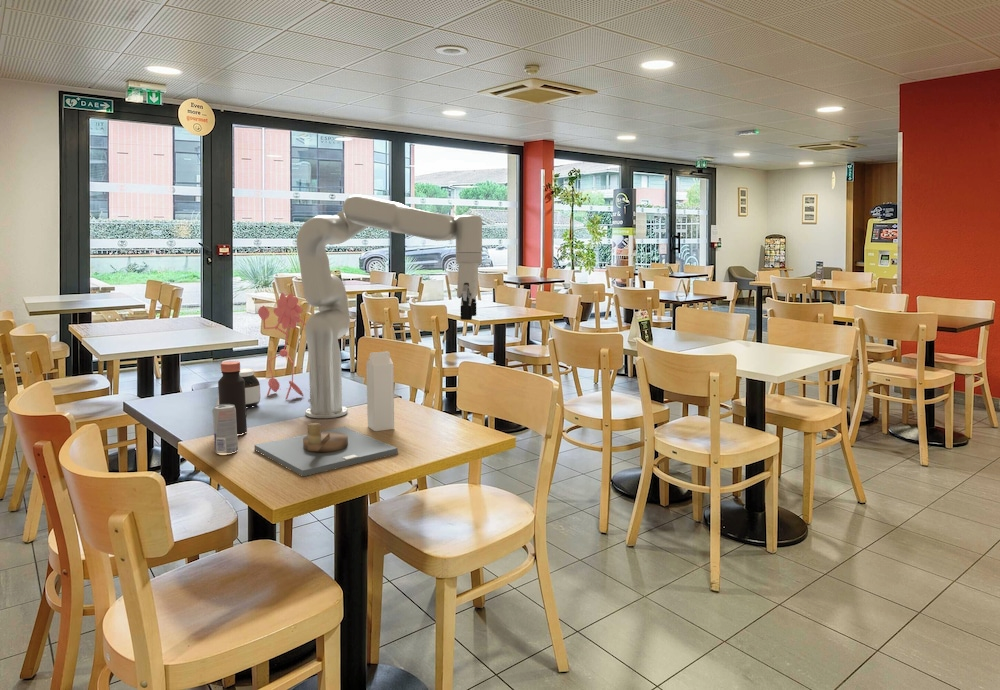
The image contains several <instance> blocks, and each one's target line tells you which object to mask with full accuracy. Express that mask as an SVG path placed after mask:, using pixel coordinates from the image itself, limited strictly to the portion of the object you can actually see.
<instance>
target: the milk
mask: <svg viewBox="0 0 1000 690" xmlns="http://www.w3.org/2000/svg"><path fill="white" fill-rule="evenodd" d="M365 363H366V400H367V401H366V405H367V407H366V410H367V411H366V412H367V414H366V415H367V427H368V428H369V429H371V430H372V431H373V432H381V431H388V430H395V390H394V389H395V387H394V386H395V385H394V383H395V382H394V379H395V378H394V362H393V360H392V358H391V352H390V351H378V352H377V351H376V352H375V351H374V352H370V353H369V358H368V360H367V361H366V362H365Z"/></svg>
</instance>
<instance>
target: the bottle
mask: <svg viewBox="0 0 1000 690" xmlns="http://www.w3.org/2000/svg"><path fill="white" fill-rule="evenodd" d="M240 369H241V362H240V361H236V360H235V361H234V360H232V361H231V360H229V361H223V362H221V363H220V371H221V374H222V376H221V377H220V378H219V380H218V382H217V387H218V389H217V390H218V395H219V405H221V404H233V405H235V408H236V423H237V434H242V433H245V432H248V427H247V426H248V425H247V409H246V401H245V381H244V379H243V378H242V377H241V376H240V375H239V372H240Z"/></svg>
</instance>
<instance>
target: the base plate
mask: <svg viewBox="0 0 1000 690" xmlns="http://www.w3.org/2000/svg"><path fill="white" fill-rule="evenodd" d="M321 432H338V433H343V434H346V435H347V436H348V446H347V447H345V448H344V449H341V450H338V451H332V452H311V451H307V450H305V449H304V448H303V438H304V437H306V436H308V433H307V434H301V435H297V436H291V437H287V438H283V439H277V440H271V441H267V442H263V443H257V444H254V451H255V450H257V451H259V452H260V453H262V454H264V455H266V456H267V457H269V458H271V459H273V460H274V461H273V460H272V461H273V462H275V461H276V462H275V463H277V462H278V463H280V464H282V465H283V466H282V465H281V466H282V467H284V466H285V467H284V468H286V467H287V468H286V469H288V468H289V469H291V470H292V471H291V470H290V471H291V472H293V471H294V473H295V472H296V473H295V474H297V473H298V474H297V475H299V474H300V475H302V476H305V477H308V476H307V475H309V476H311V475H310V474H313V475H316V474H315V473H317V474H319V473H318V472H321V473H324V472H323V471H325V472H327V471H326V470H329V471H332V470H331V469H333V470H336V469H335V468H337V469H341V468H345V467H349V465H350V466H353V464H354V465H358V464H361V462H362V463H365V461H366V462H369V460H370V461H373V459H374V460H377V459H376V458H378V459H381V458H380V457H382V458H385V457H384V456H386V457H389V455H390V456H394V455H398V454H399V453H398V451H399V449H398V447H396V446H394V445H391V444H389V443H386V442H384V441H381V440H379V439H377V438H374V437H371V436H369V435H366V434H364V433H361V432H359V431H356V430H354V429H351V428H349V427H346V426H342V427H340V426H339V427H336V428H331V429H326V430H321ZM257 451H256V452H257ZM260 453H259V454H260ZM262 454H261V455H262ZM264 455H263V456H264ZM266 456H265V457H266ZM267 457H266V458H267ZM269 458H268V459H269ZM271 459H270V460H271ZM278 463H277V464H278ZM357 463H358V464H357ZM280 464H279V465H280ZM340 467H341V468H340ZM289 469H288V470H289ZM300 475H299V476H300ZM302 476H301V477H302Z"/></svg>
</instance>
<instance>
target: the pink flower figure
mask: <svg viewBox="0 0 1000 690" xmlns="http://www.w3.org/2000/svg"><path fill="white" fill-rule="evenodd" d="M298 302H299V299H298V297H296V296H294V293H292V292H291V293H289V294H287V296H286V294H285V293H284V292H281V293H280V294H279V298H278V299H277V300H276V303H277V307H275V308H274V309H273V313H274V315H275V316H277V324H276V325H275V326H268V327H267V326H266V320H267V319H268V318H269V316H270V310H269V309H268V308H267V307H266V306H265V305H262V306H260V307H259V308H258V310H257V314H258V316H259V317H260V319H261V320H262V322H263V330H270V329H271V330H272V329H274V330H278V331H279V332H281V333H283V334H284V335H286V337H285V343H284V347H283V348H282V349H280V350H279V354H278V355H275V356H274V357H271V358H269V359H268V360H267V361H268V365H269V366H268V367H269V369H270V373H271V378H269V379H268V383H267V384H268V387H269V388H268V392H267V395H266V396H267V397H269V396H270V392H271V390H272V392H274V393H275V392H276V393H277V391H278V390H280V386H281V385H280V382H279V381H278V380H277V378H275V377H274V375H273V371H272V370H273V369H272V366H271V361H272V360H274V359H276V358H277V357H279V356H280V357H282V358H286V357H287V358H288V359H289V361H290V362H291V380H288V384H289V388H288V389H287V394H286V397H285V400H286V399H287V400H288V398H289V395H290V393H291V390H294V391H295V392H296V393H297V394H299V395H300V396H301V397H304V393H303V390H300V389H301V388H300V387H299V386H298V385H297V384H296V383H295V382H294V362H293V360H292V359H291V357H290V356H289V352H288V350H287V349H286V347H287V343H288V339H289V334H288V333H289V331H290V329H292V330H295V329H296V327H297V323H302V324H303V325H304V326H306V322H305V321H303V320H302V319H301V317H300V314H302V313H303V312H304V311H303V308H302V306H300V305H299V304H298ZM280 324H281V327H282V329H283V330H282V329H281V328H279V326H280ZM284 330H286V331H284ZM291 388H293V389H291ZM296 402H298V400H296Z"/></svg>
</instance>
